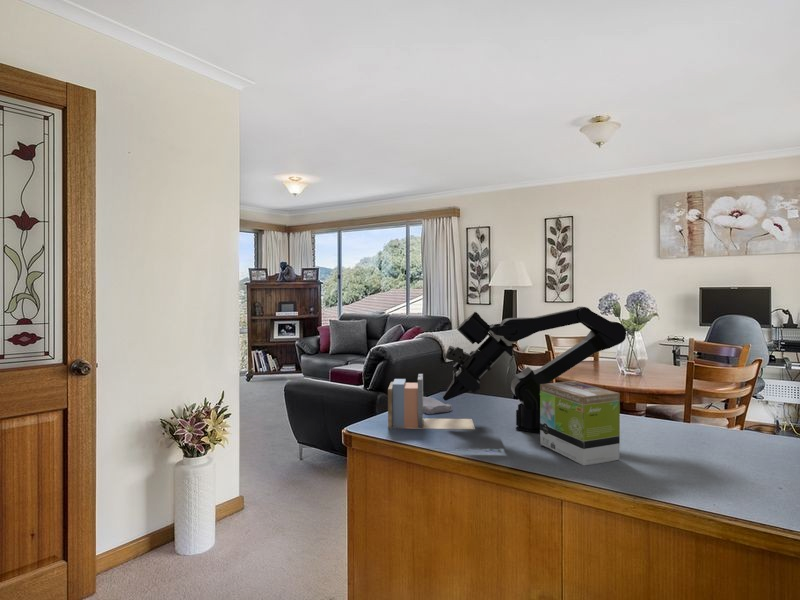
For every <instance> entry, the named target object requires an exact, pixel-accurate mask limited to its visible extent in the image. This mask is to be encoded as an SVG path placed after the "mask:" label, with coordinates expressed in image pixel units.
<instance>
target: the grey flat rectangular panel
mask: <svg viewBox="0 0 800 600" xmlns="http://www.w3.org/2000/svg"><path fill="white" fill-rule="evenodd" d="M417 383H418V427H423V418H424V412H423V397H424V373H418V375H417Z"/></svg>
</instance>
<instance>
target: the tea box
mask: <svg viewBox="0 0 800 600" xmlns="http://www.w3.org/2000/svg"><path fill="white" fill-rule="evenodd" d="M620 396H621V393H620V392H616V391H613V390H610V389H609V390H608V389H605V388H603V387H598V386H595V385H591V384H588V383H587V384H586V383H584V382H579V381H575V380H568V381H559V382H549V383H548V384H540V433H539V434H540V435H539V436H540V438H539V439H540V446H543V447H545V448H548V449H550V450H552V451H553V452H555V453H558V454H560V455H562V456H564V457H566V458H567V459H570V460H572V461H573V462H575V463H578V465H581V466H583V467H585V466H590V465H596V464H602V463H603V464H604V463H609V462H613V461H618V460H620V448H621V447H620V437H621V436H620V435H621V434H620V432H621V431H620V429H621V428H620V423H621V417H620V415H621V414H620V413H621V411H620V410H621V405H620V403H621V402H620V401H621V399H620V398H621V397H620Z"/></svg>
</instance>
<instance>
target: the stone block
mask: <svg viewBox="0 0 800 600" xmlns="http://www.w3.org/2000/svg"><path fill="white" fill-rule="evenodd" d="M452 409H453V407H452V404H449V403H446V404H445V403H444V402H442V401H440V400H438V399H437V398H435V397H434V398H433V397H428V396H423V414H427V415H434V414H439V413H446V412H452Z"/></svg>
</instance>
